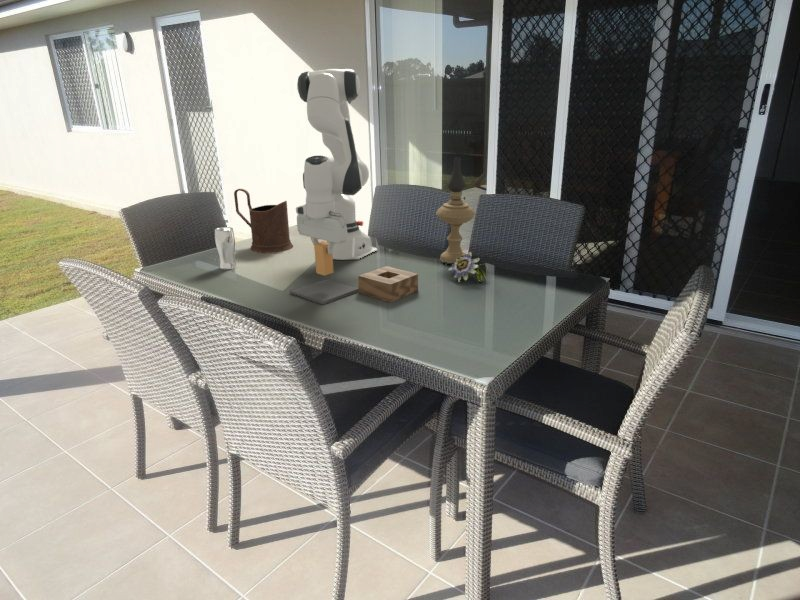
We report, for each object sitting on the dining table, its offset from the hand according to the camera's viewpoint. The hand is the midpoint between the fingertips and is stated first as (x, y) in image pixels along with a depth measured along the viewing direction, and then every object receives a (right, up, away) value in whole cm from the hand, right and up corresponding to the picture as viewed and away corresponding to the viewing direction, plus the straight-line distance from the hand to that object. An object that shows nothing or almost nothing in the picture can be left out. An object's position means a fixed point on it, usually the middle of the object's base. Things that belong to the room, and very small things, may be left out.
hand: (323, 252), depth 173 cm
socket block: (+21, -13, +5) cm, 25 cm away
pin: (0, -7, +3) cm, 7 cm away
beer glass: (-41, -3, +32) cm, 52 cm away
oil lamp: (+46, 0, +39) cm, 60 cm away
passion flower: (+49, -9, +17) cm, 53 cm away
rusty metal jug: (-34, +7, +60) cm, 70 cm away
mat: (0, -13, +4) cm, 14 cm away
